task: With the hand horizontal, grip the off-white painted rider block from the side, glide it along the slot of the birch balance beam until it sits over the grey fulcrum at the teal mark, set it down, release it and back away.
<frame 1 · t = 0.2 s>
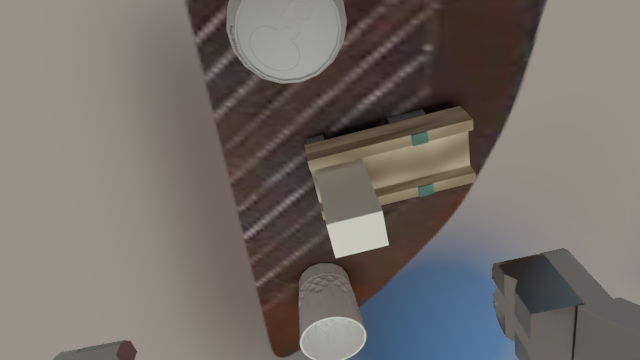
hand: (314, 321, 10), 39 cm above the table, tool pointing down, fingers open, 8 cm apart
rider: (341, 177, 50), point 4 cm above the table, touching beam
white cup: (323, 279, 63), on the table
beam: (382, 147, 53), on the table
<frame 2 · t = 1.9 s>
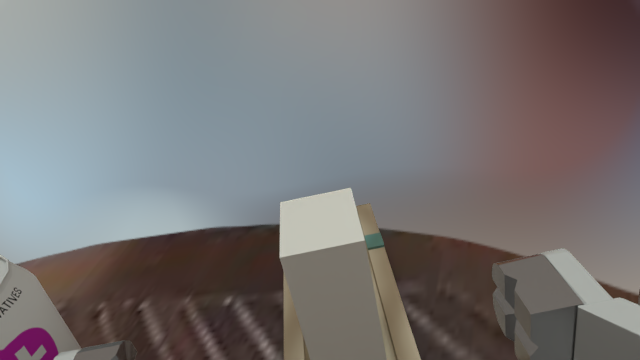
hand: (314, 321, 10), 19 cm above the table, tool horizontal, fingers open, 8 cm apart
rider: (350, 354, 28), point 4 cm above the table, touching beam
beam: (349, 332, 35), on the table
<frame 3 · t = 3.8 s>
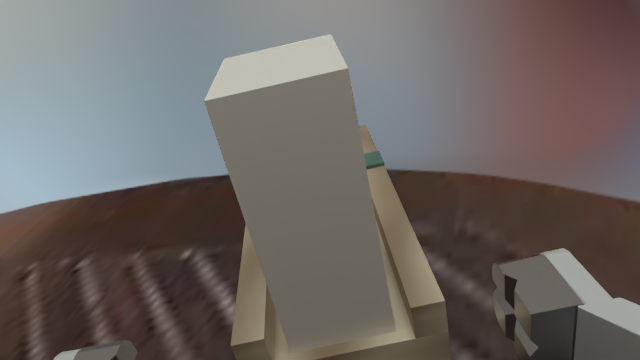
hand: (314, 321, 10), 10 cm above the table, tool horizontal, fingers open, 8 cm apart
rider: (336, 296, 19), point 4 cm above the table, touching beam
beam: (339, 282, 26), on the table
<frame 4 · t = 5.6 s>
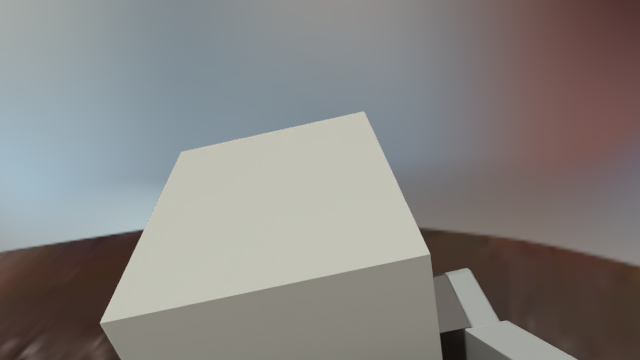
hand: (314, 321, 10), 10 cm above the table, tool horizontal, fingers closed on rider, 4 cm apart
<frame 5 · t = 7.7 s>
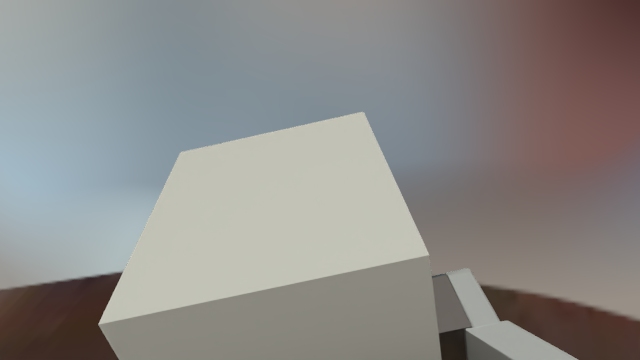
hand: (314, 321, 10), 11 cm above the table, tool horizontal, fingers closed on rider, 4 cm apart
when the fingers open (10 cm above the table, at t = 9.8 s): rider stays where it is, resting on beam.
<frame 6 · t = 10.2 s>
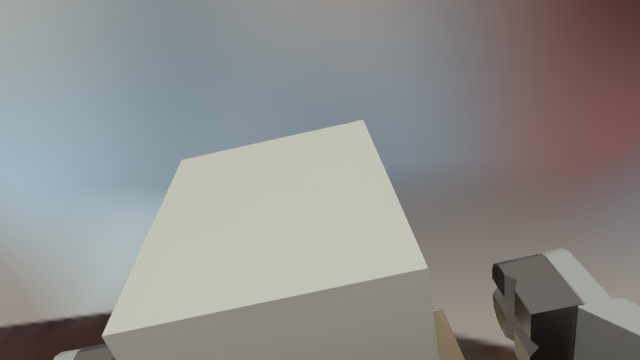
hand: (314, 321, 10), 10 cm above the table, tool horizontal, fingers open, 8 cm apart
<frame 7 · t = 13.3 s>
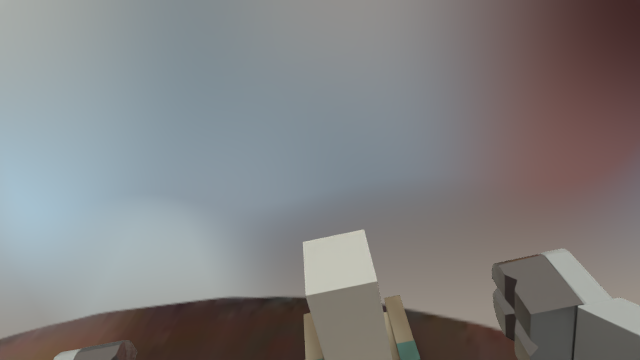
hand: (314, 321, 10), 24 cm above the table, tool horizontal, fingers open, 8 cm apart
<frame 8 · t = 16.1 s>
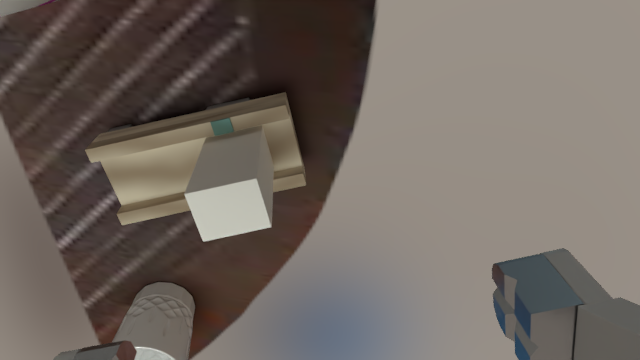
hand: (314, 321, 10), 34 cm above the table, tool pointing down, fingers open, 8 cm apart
rider: (240, 151, 41), point 4 cm above the table, touching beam
white cup: (165, 302, 53), on the table
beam: (208, 143, 45), on the table
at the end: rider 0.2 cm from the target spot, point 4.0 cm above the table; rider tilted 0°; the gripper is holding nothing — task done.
